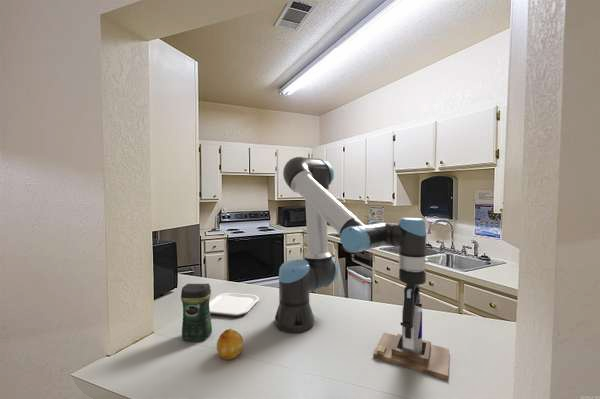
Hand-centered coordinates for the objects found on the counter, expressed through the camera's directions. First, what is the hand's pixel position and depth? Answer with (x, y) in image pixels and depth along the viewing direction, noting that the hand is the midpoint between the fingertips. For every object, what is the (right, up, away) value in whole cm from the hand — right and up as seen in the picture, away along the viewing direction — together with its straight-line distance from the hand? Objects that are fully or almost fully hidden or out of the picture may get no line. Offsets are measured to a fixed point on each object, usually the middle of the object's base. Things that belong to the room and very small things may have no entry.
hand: (411, 336), depth 82 cm
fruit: (-56, -6, +1) cm, 57 cm away
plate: (-65, -6, +36) cm, 74 cm away
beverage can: (0, -6, 0) cm, 6 cm away
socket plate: (0, -6, 0) cm, 6 cm away
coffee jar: (-71, -6, +12) cm, 72 cm away
